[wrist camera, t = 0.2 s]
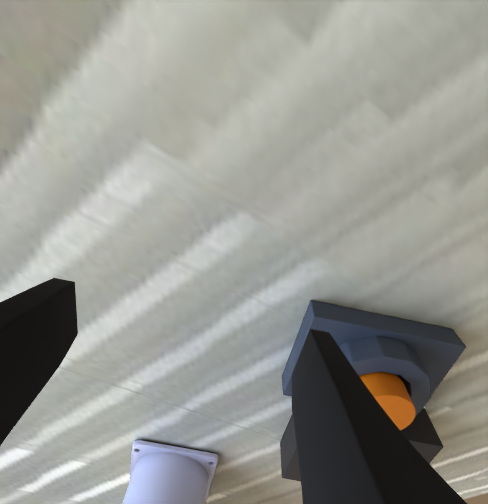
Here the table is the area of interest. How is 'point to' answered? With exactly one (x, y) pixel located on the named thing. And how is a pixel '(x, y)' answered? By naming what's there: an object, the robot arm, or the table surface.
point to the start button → (391, 397)
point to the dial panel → (417, 432)
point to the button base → (383, 347)
